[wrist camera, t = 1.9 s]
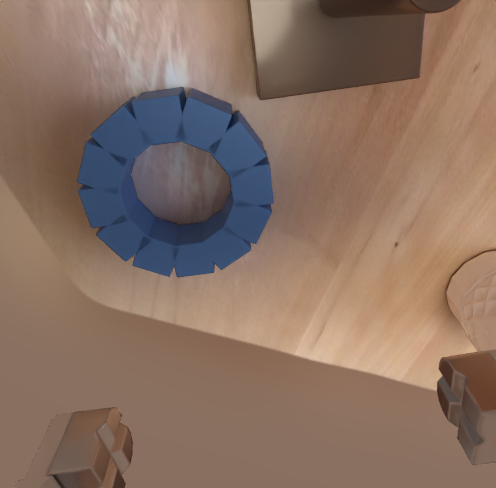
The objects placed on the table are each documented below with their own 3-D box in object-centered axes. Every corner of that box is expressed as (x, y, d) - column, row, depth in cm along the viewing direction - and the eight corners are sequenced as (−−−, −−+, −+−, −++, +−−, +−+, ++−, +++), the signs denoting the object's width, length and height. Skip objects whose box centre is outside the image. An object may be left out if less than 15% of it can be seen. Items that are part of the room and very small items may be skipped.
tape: (122, 262, 29) (112, 286, 26) (69, 103, 23) (48, 113, 21) (275, 242, 28) (280, 264, 26) (257, 76, 23) (261, 82, 20)
